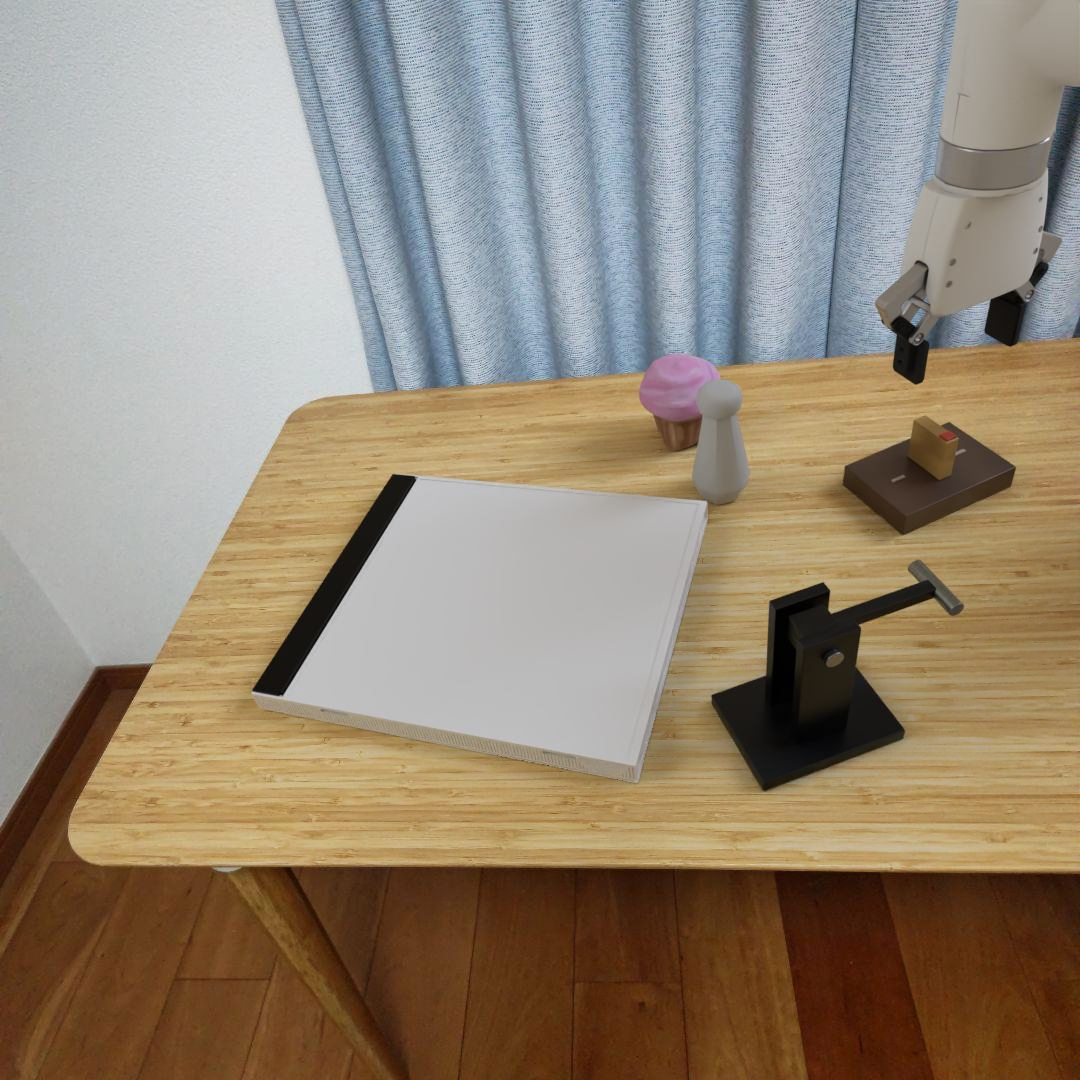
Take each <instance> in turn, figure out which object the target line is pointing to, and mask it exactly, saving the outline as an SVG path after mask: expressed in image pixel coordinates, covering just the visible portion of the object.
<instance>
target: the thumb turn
mask: <svg viewBox="0 0 1080 1080" xmlns="http://www.w3.org/2000/svg"><path fill="white" fill-rule="evenodd" d="M910 438H911V440H910V445H909V451H908V457H909V458H910V459H912V460H913V461H914V462H916V463H917V464H918V465H920V466H921V467H922V468H924V469H925V470H926V471H928V472H929V473H930V474H932V475H933V476H934V477H936V478H937V479H938V480H941V479H944V478H946V477H948V476H951V473H952V468H953V463H954V459H955V454H956V449H957V445H958V440H959V438H958V437H956V435H955V434H953V433H952V432H950V431H947V430H946V429H945V428H943V427H942V426H940V424H939V423H937V422H936V421H935V420H933V419H931V418H930V417H929V416H928V415H923V416H919V417H918V418H915V419H914V420H913V423H912V429H911V434H910Z"/></svg>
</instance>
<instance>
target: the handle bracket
mask: <svg viewBox="0 0 1080 1080" xmlns="http://www.w3.org/2000/svg"><path fill="white" fill-rule="evenodd" d="M830 598H831V589H830V588H829V587H828V586H827V585H826V583H825V582H823V581H822V582H819V583H816V584H814V585H811V586H808V587H805V588H802V589H799V590H796V591H794V592H793V591H792V592H790V593H788V594H785V595H782V596H779V597H776V598H773V599H771V600H770V599H769V600H768V619H767V643H766V644H767V645H766V664H765V666H766V667H765V675H763V676H759V677H757V678H755V679H752V680H749V681H746V682H743V683H741V684H738V685H735V686H732V687H730V688H726V689H723V690H721V691H719V692H716V693H713V694H711V695H710V696H711V699H710V700H711V706H712V707H713V708H714V710H715V712H716V714H717V716H718V718H719V719H720V720H721V722H722V724H723V726H724V727H725V729H726V731H727V733H728V734H729V736H730V737H731V739H732V741H733V742H735V743H734V745H735V746H736V747H737V749H738V752H739V753H740V754H741V756H742V758H743V760H744V761H745V763H746V765H747V767H748V768H749V770H750V772H751V773H752V775H753V776H754V778H755V780H756V782H757V783H758V785H759V787H760V786H761V787H760V788H761V790H762V792H766V791H769V790H771V789H774V788H778V787H780V786H783V785H785V784H787V783H790V782H793V781H796V780H798V779H800V778H804V777H805V776H808V775H812V774H814V773H816V772H819V771H822V770H825V769H827V768H830V767H832V766H835V765H838V764H840V763H843V762H846V761H848V760H850V759H853V758H857V757H859V756H861V755H864V754H867V753H870V752H872V751H875V750H878V749H880V748H882V747H885V746H888V745H891V744H893V743H895V742H898V741H901V740H904V738H905V735H906V729H905V727H904V726H903V725H902V724H901V722H900V721H899V720H898V718H897V717H896V716H895V715H894V714H893V712H892V711H891V710H890V708H889V707H888V706H887V705H886V703H885V702H884V701H883V699H882V698H881V697H880V696H879V694H878V693H877V691H876V690H875V689H874V688H873V686H872V685H871V684H870V682H869V681H868V680H867V679H866V677H865V676H864V675H863V673H862V672H861V671H860V670H859V669H858V667H857V661H858V653H859V648H860V641H861V635H862V627H861V626H860V625H858V624H857V622H856V621H855V620H854V619H853V620H850V621H847V622H845V623H842V624H839V625H836V626H833V627H831V628H828V629H825V630H822V631H819V632H816V633H814V634H811V635H808V636H805V637H802V638H800V639H798V640H797V650H796V649H795V647H794V646H793V645H792V643H791V642H790V641H789V639H788V638H787V632H788V617H789V616H790V615H792V614H795V613H798V612H801V611H804V610H807V609H810V608H812V607H815V606H818V605H821V604H824V605H825V607H826V608H827V609H828V610H829V607H830V600H831V599H830Z"/></svg>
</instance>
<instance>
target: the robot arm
mask: <svg viewBox="0 0 1080 1080" xmlns="http://www.w3.org/2000/svg"><path fill="white" fill-rule="evenodd" d="M948 62H949V63H948V70H947V77H946V84H945V91H944V97H943V105H942V112H941V121H940V125H939V133H938V140H937V147H936V154H935V161H934V168H933V175H932V178H930V179H927V180H926V181H924V183H923V185H922V188H921V191H920V193H919V195H918V198H917V200H916V201H917V202H916V204H915V207H914V211H913V213H912V217H911V221H910V224H909V228H908V231H907V236H906V240H905V246H904V250H903V253H902V254H903V255H902V260H901V266H900V272H899V276H898V277H899V278H898V279H897V280H896V281H894V283H892V285H890V286H889V287H888V288H887V289H886V290H884V291H883V293H882V294H880V295H879V296H877V298H876V299H875V302H874V306H875V308H876V310H877V313H878V315H879V317H880V318H881V319H880V321H881V323H882V325H883V326H885V327H886V328H888V329H889V330H890V331H891V332H892V333H893V334H895V336H896V338H895V344H894V353H893V360H892V369H893V371H894V372H895V373H896V374H898V375H899V376H900V377H902V378H904V379H906V380H907V381H909V382H910V383H912V384H913V385H915V386H916V385H919V384H923V382H924V380H925V376H926V370H927V364H928V358H929V350H930V342H929V341H928V340H926V338H927V336H928V335H929V334H930V332H931V331H932V330H933V328H934V326H935V325H936V324H937V322H939V320H940V318H943V317H947V316H951V315H953V314H956V313H959V312H961V311H964V310H967V309H969V308H973V307H975V306H977V305H980V304H982V303H985V302H987V301H989V304H988V309H987V310H988V311H987V314H986V320H985V325H984V330H983V331H984V334H985V335H986V336H989V337H990V338H992V339H993V340H996V341H997V342H999V343H1001V344H1003V345H1005V346H1007V347H1010V348H1011V347H1013V346H1016V345H1017V344H1018V342H1019V338H1020V333H1021V331H1022V330H1021V329H1022V325H1023V321H1024V316H1025V313H1026V308H1027V303H1029V302H1030V301H1031V300H1033V298H1034V297H1035V295H1036V288H1035V287H1036V286H1037V285H1038V284H1039V283H1040V281H1041V280H1042V279H1043V278H1044V276H1045V275H1046V274H1047V272H1048V271H1049V267H1050V265H1049V263H1051V262H1052V260H1053V258H1054V257H1055V255H1056V253H1057V251H1058V250H1059V248H1060V247H1061V245H1062V243H1063V239H1062V237H1060V236H1058V235H1056V234H1053V233H1051V232H1049V231H1045V230H1044V226H1045V221H1046V220H1045V219H1046V213H1047V204H1048V193H1049V192H1048V191H1049V167H1048V161H1049V157H1050V153H1051V148H1052V143H1053V140H1054V137H1055V136H1056V133H1057V123H1058V119H1059V118H1058V117H1059V113H1060V110H1061V109H1060V108H1061V103H1062V99H1063V96H1064V92H1065V87H1072V88H1073V87H1074V88H1080V0H958V2H957V6H956V13H955V21H954V28H953V35H952V42H951V48H950V55H949V61H948ZM925 299H926V300H927V301H925ZM919 310H922V311H924V312H925V313H924V314H923V315H922V317H921V318H920V319H919V321H918V323H916V325H914V324H913V323H912V320H913V319H914V317H915V316H916V314H917V313H918V312H919Z"/></svg>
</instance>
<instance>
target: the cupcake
mask: <svg viewBox="0 0 1080 1080" xmlns="http://www.w3.org/2000/svg"><path fill="white" fill-rule="evenodd" d="M716 379H722V378H721V375H720V373H719V371H718V369H717V368H716V366H715V365H714V364H713V363H711V362H710V361H708V360H706V359H705V358H702V357H698V356H695V355H692V354H691V355H690V354H688V353H682V352H681V353H680V352H679V353H671V354H667V355H663V356H661V357H659V358H657V359H655V360H653V361H652V362H651V363H650V365H649V366H648V369H647V370H646V371H645V373H644V375H643V378H642V380H641V382H640V385H639V389H638V398H639V399H638V400H639V401H640V404H641V405H642V407H643V408H644V409H645V410H646V411H647V412H649V413H650V414H652V415H653V419H654V422H655V425H656V428H657V431H658V433H659V435H660V437H661V439H662V440H663V443H664V444H665V446H666V447H667V448H668V449H669V450H672V451H680V450H683V449H686V448H689V447H691V446H694V445H698V441H699V435H700V429H701V423H702V417H703V414H701V413H700V411H699V409H698V407H697V401H696V399H697V394H698V390H699V388H700V387H702V386H703V385H704V384H705V383H707V382H709V381H712V380H716Z"/></svg>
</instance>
